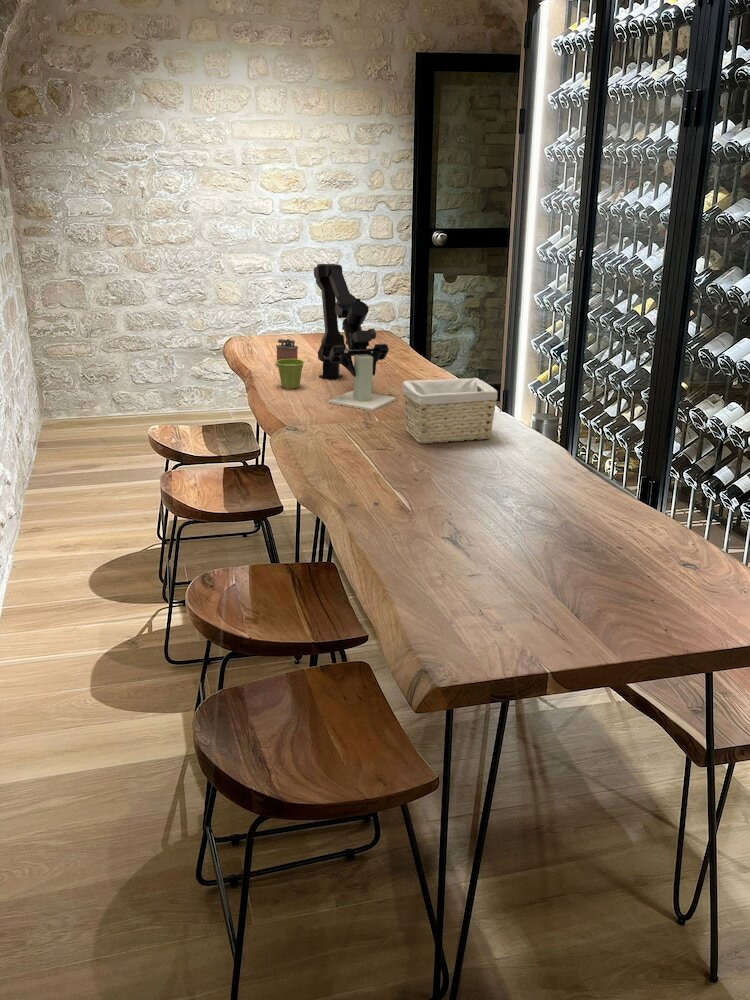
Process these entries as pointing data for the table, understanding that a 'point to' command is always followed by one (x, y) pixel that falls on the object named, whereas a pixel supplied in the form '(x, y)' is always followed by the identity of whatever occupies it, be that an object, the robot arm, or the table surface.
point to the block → (363, 377)
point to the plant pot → (290, 372)
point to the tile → (367, 405)
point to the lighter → (286, 349)
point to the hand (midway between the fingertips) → (364, 375)
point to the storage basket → (449, 409)
